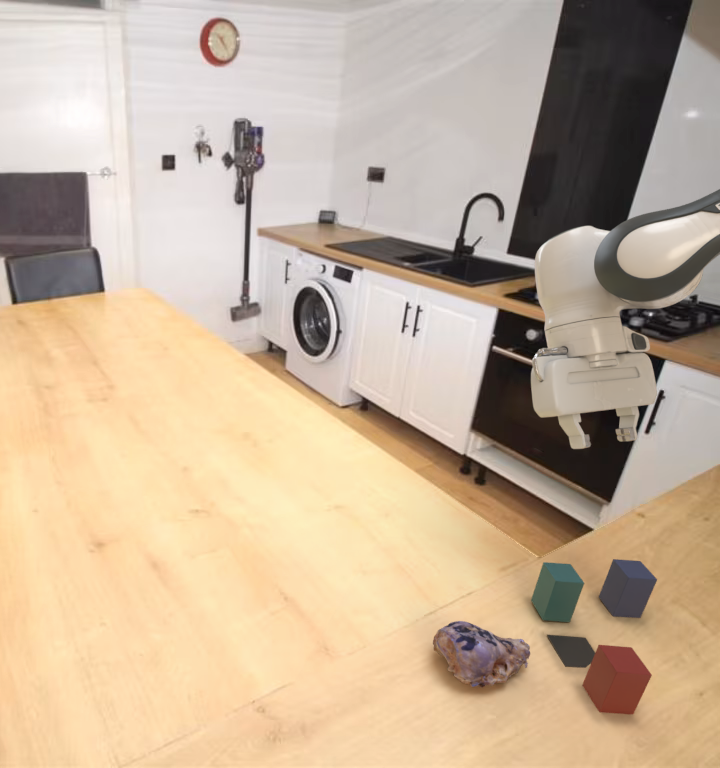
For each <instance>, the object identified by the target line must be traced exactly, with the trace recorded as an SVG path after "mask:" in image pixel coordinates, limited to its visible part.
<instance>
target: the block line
mask: <svg viewBox="0 0 720 768" xmlns="http://www.w3.org/2000/svg"><path fill="white" fill-rule="evenodd" d="M537 577H538V578H537V581H536V584H535V587H534V590H533V594H532V596H531V598H530V600H531V601H530V602H531V603H532V604H533V606H534V608H535V610H536V611H537V613H538V615H539V616H540V618H541V620H542V621H547V622H548V621H550V622H559V623H571V621H572V618H573V615H574V612H575V610H576V607H577V605H578V602H579V599H580V596H581V594H582V591H583V589H584V585H585V582H584V580H583V579H582V577H581V576H580V575H579V574H578V572H577V571H576V569H575V567H574V566H573V565H572V564H571V563H563V562H562V563H559V562H547V561H543V563H542V565H541V568H540V572H539V574H538V576H537ZM546 636H547V638H548V640H549V642H550V643H551V645H552V647H553V649H554V650H555V652H556V654H557V656H558V657H559V659H560V661H561V662H562V664H563V665H564V667H565V668H583V669H584V668H587V667H588V666H589V668H588V669H587V672H586V675H585V678H584V679H583V682H582V684H581V687H583V690H585V692H586V694H587V695H588V697H589V698H590V700H591V702H592V703H593V705H594V706H595V708H596V709H597V711H598V713H602V714H603V713H606V714H619V715H634V714H635V712H636V710H637V708H638V705H639V703H640V701H641V700H642V697H643V696H644V693H645V691H646V688H647V687H648V684H649V682H650V680H651V678H652V677H653V675H652V673H651V672H650V671H649V668H648V667H647V666H646V665H645V663H644V662H643V660H642V659H641V658H640V657H639V655H638V654H637V652H636V651H635V650H634V648H633V647H630V646H622V645H621V646H619V645H608V644H598V645H597V648H596V650H594V648H593V647H592V645H591V643H590V642H589V641H588V639H587V638H586V637H584V636H583V637H581V636H571V635H560V634H559V635H557V634H546Z"/></svg>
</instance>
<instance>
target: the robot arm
mask: <svg viewBox="0 0 720 768" xmlns="http://www.w3.org/2000/svg"><path fill="white" fill-rule="evenodd" d="M719 256H720V188H719V189H716V190H715V191H713V192H711V193H709V194H707V195H705V196H703V197H701V198H699V199H696V200H694V201H692V202H689V203H685V204H682V205H679V206H675V207H670V208H666V209H660V210H656V211H651V212H646V213H643V214H640V215H636V216H633V217H630V218H629V219H627V220H624V221H622V222H621V223H619V224H618V225H616V226H615V227H613V228H612V229H611V230H605V229H600V228H597V227H594V226H593V225H582V226H581V225H580V226H576V227H573V228H570V229H567V230H564V231H562V232H559V233H558V234H555V235H554V236H552V237H550V238H549V239H548V240H547V241H545V242H544V243H543V244H542V245H541V246H540V247H539V249H538V250H537V251H536V253H535V256H534V257H535V258H534V278H535V287H536V292H537V298H538V299H537V300H538V303H539V305H540V307H541V308H542V311H543V314H544V328H543V329H544V335H545V340H546V346H547V347H542V348H539V349H538V350H537V352H535V355H534V356H533V358H532V359H531V365H532V368H531V371H530V388H531V400H532V407H533V411H534V412H535V413H536V414H537V416H538V417H539V418H542V419H543V418H555V417H557V420H558V423H559V426H560V427H561V429H562V430H563V432H564V433H565V434H566V435H567V437H568V440H569V445H570V448H571V449H573V450H583V449H587V448H590V447H591V445H592V443H591V441H590V440H591V438H590V434H589V433H588V434H587V433H586V434H585V432H584V430H583V428H582V426H581V425H580V423H581V422H582V417H581V414H586V413H594V412H601V411H609V410H615V412H616V416H617V417H619V423H618V424H619V425H618V428H615V434H616V439H617V441H619V442H632V441H636V440H638V433H637V426H638V421H639V418H640V411H639V407H641V406H648V405H649V406H650V405H654V404H655V402H656V399H657V396H658V388H657V383H656V377H655V371H654V368H653V363H652V360H651V359H650V357H649V355H648V354H647V353H645V352H648V351H650V349H651V342H650V340H649V338H648V336H646V335H644V334H643V333H639V332H636V331H634V330H633V329H631V328H629V327H628V326H625V325H623V324H622V319H621V315H620V313H621V311H623V310H639V309H640V310H641V309H644V310H645V309H646V310H656V309H663V308H667V307H670V306H673V305H675V304H677V303H680V302H681V301H683V300H684V299H686V298H688V296H690V295H691V294H692V293H693V292H694V291H695V290H696V289H697V287H698V286H699V284H700V282H701V280H702V279H703V275H704V269H705V268H706V267H707V266H708V265H709V264H710V263H711V262H712V261H713V260H715V259H716V258H717V257H719Z"/></svg>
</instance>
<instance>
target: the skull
mask: <svg viewBox="0 0 720 768" xmlns="http://www.w3.org/2000/svg"><path fill="white" fill-rule="evenodd" d="M432 645H433V651H434V652H436V653H438V655H440V656H441V657H442V658H444V659H445V660H446V662H447V664H448V666H447V671H448V672H451V673H453V677H455V678H456V679H457V680H458V681H460V682H461V683H462V684H465V685H469V686H470V687H472V688H474V687H478V688H485V687H486V686H494V685H495V684H498V683H501V684H502V683H507V682H508V679H509V678H511V677H512V676H513V675H514V674H518V672H519V671H520V669H521V667H522V665H524V668H525V669H526V668H528V665H529V663H528V660H529V659H530V657H531V651H530V648H531V646H530V645H529V643H527V642H525V640H524V639H523V638H511V637H507V638H505V637H501V636H498V635H495V634H494V633H493V632H492V631H490V630H487V629H483V628H482V627H480V626H479V625H475V624H474V623H471V622H468V621H463V620H457V621H451V622H450V623H448V624H447V625H444V626H443V627H441V628H439V629H438V630H437V631H436V633H435V634H434V636H433V640H432Z"/></svg>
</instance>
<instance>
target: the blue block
mask: <svg viewBox="0 0 720 768" xmlns="http://www.w3.org/2000/svg"><path fill="white" fill-rule="evenodd" d="M657 582H658V578H657V577H656V576H655V575H654V574H653V573H652V572H651V571H650V569H648V567H646V565H645V564H644V563H643V562H642V561H641V560H633V559H618V558H617V559H615V558H613V559H612V561H611V564H610V566H609V568H608V572H607V574H606V577H605V579H604V582H603V585H602V586H601V589H600V591H599V595H598V599H599V600H600V601H601V602H602V604H603V605H604V607H605V608H606V610H608V613H610V614H611V616H612V617H615V618H617V617H618V618H632V619H633V618H634V619H641V618H642V616H643V613H644V612H645V609H646V607H647V605H648V602H649V600H650V598H651V595H652V593H653V591H654V589H655V586H656V583H657Z"/></svg>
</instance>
